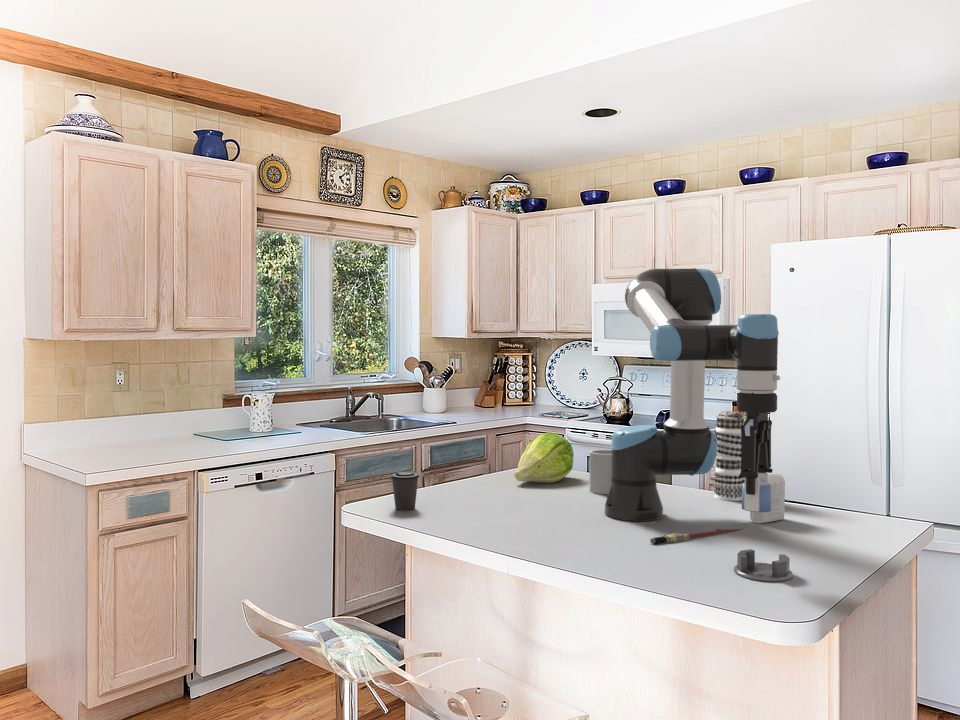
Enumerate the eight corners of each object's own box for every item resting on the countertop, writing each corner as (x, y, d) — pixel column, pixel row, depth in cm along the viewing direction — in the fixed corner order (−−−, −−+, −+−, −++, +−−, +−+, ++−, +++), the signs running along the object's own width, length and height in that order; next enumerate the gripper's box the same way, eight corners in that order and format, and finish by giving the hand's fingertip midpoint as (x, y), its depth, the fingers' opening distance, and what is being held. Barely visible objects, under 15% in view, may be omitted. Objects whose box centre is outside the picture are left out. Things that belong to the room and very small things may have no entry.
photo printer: (772, 516, 201) (773, 469, 201) (787, 519, 197) (787, 471, 197) (747, 521, 195) (747, 473, 195) (761, 525, 192) (762, 476, 191)
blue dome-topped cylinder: (738, 510, 153) (738, 482, 152) (746, 505, 157) (746, 479, 157) (766, 513, 149) (767, 485, 149) (774, 508, 154) (774, 481, 154)
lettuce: (541, 501, 237) (505, 497, 248) (588, 467, 253) (552, 465, 265) (528, 456, 234) (492, 455, 245) (577, 425, 250) (541, 425, 262)
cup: (622, 494, 228) (622, 454, 228) (591, 494, 228) (591, 454, 228) (617, 488, 237) (617, 449, 237) (587, 488, 237) (587, 449, 237)
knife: (640, 542, 178) (655, 545, 173) (640, 534, 178) (654, 537, 174) (731, 531, 191) (747, 533, 187) (731, 524, 192) (747, 526, 187)
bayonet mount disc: (727, 575, 152) (727, 558, 152) (742, 561, 161) (742, 545, 161) (785, 585, 146) (785, 567, 146) (798, 570, 155) (798, 553, 155)
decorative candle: (706, 495, 226) (706, 411, 225) (730, 493, 230) (731, 410, 229) (727, 502, 218) (728, 414, 217) (752, 499, 221) (753, 412, 220)
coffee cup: (385, 510, 208) (384, 473, 208) (399, 504, 216) (398, 468, 216) (411, 512, 205) (411, 475, 205) (425, 506, 213) (424, 470, 213)
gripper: (763, 395, 143) (762, 519, 144) (788, 389, 158) (787, 501, 159) (723, 393, 147) (722, 513, 148) (751, 388, 162) (750, 497, 163)
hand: (756, 507), depth 153 cm, fingers closed on blue dome-topped cylinder, 5 cm apart
